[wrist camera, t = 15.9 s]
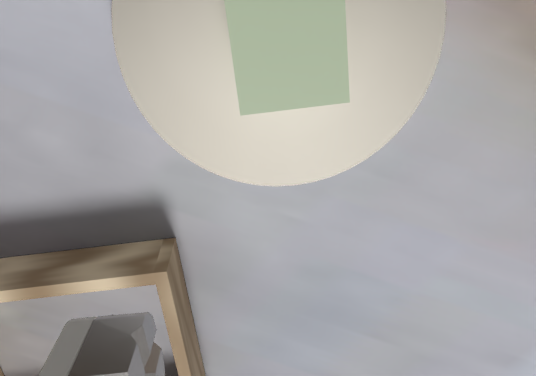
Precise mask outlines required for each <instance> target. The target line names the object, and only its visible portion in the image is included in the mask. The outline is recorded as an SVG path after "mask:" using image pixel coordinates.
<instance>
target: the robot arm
mask: <svg viewBox="0 0 536 376" xmlns="http://www.w3.org/2000/svg"><path fill="white" fill-rule="evenodd" d="M156 330H157V329H156V326H155V322H154V319H153V316H152V315H151V314H150V313H149V312H145V313H133V314H121V315H108V316H98V317H87V318H76V319H71V320H70V321H68V322H67V323H66V324H65V326H64V328H63V330H62V332H61V334H60V336H59V338H58V339H57V341H56V343H55V345H54V347H53V349H52V351H51V353H50V355H49V356H48V358H47V360H46V362H45V364H44V366H43V368H42V370H41V372H40V373H39V375H38V376H165V366H164V358H163V354H162V349H161V348H160V347H159V346H158V345H157V344H156V343H154V338H155V334H156Z"/></svg>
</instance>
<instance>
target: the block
mask: <svg viewBox="0 0 536 376" xmlns="http://www.w3.org/2000/svg"><path fill="white" fill-rule="evenodd" d="M224 2H225V10H226V17H227V24H228V31H229V38H230V45H231V52H232V59H233V67H234V74H235V81H236V88H237V95H238V102H239V109H240V116H242V115H250V114H258V113H267V112H275V111H283V110H291V109H300V108H308V107H316V106H324V105H333V104H341V103H349V102H350V94H349V73H348V52H347V30H346V9H345V0H224Z"/></svg>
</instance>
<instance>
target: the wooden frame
mask: <svg viewBox="0 0 536 376" xmlns="http://www.w3.org/2000/svg"><path fill="white" fill-rule="evenodd" d="M155 284H156V287H157V291H158V295H159V299H160V303H161V307H162V311H163V315H164V319H165V323H166V327H167V331H168V335H169V339H170V343H171V347H172V351H173V355H174V359H175V363H176V367H177V371H178V375H179V376H206V375H205V371H204V366H203V362H202V357H201V353H200V348H199V343H198V339H197V334H196V330H195V325H194V320H193V316H192V311H191V307H190V302H189V298H188V293H187V288H186V284H185V279H184V275H183V270H182V265H181V261H180V256H179V252H178V247H177V243H176V238H168V239H160V240H151V241H143V242H134V243H126V244H117V245H109V246H100V247H92V248H83V249H75V250H67V251H58V252H50V253H41V254H33V255H24V256H16V257H7V258H0V303H1V302H10V301H18V300H27V299H35V298H44V297H52V296H61V295H69V294H78V293H86V292H95V291H104V290H112V289H121V288H129V287H138V286H146V285H155ZM0 376H4V374H3V372H2V370H1V368H0Z"/></svg>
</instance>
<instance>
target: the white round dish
mask: <svg viewBox="0 0 536 376" xmlns="http://www.w3.org/2000/svg"><path fill="white" fill-rule="evenodd" d="M345 9H346V30H347V52H348V73H349V94H350V102H349V103H341V104H333V105H324V106H316V107H308V108H300V109H291V110H283V111H275V112H267V113H258V114H250V115H242V116H240V109H239V102H238V95H237V88H236V81H235V74H234V67H233V59H232V52H231V45H230V38H229V31H228V24H227V17H226V10H225V2H224V0H112V8H111V11H112V33H113V39H114V45H115V51H116V56H117V59H118V63H119V66H120V69H121V73H122V76H123V78H124V80H125V83H126V85H127V87H128V90H129V92H130V94H131V96H132V98H133V100H134V101H135V103H136V105H137V106H138V108H139V110H140V111H141V113H142V115H143V116H144V117H145V118H146V120H147V121H148V122H149V124H150V125H151V126H152V128H153V129H154V130H155V131H156V132H157V133H158V134H159V135H160V136H161V137H162V138H163V139H164V140H165V141H166V142H167V143H168V144H169V145H170V146H171V147H172V148H174V149H175V150H176V151H177V152H179V153H180V154H181V155H182V156H184V157H185V158H187V159H188V160H190V161H192V162H193V163H195V164H196V165H198V166H200V167H201V168H203V169H206V170H208V171H210V172H212V173H214V174H217V175H219V176H222V177H225V178H228V179H231V180H234V181H238V182H243V183H248V184H254V185H262V186H291V185H300V184H305V183H311V182H315V181H319V180H322V179H325V178H329V177H332V176H334V175H337V174H339V173H341V172H344V171H346V170H348V169H350V168H352V167H354V166H356V165H357V164H359V163H361V162H362V161H364V160H366V159H367V158H369V157H370V156H371V155H373V154H374V153H375V152H377V151H378V150H379V149H381V148H382V147H383V146H384V145H385V144H386V143H387V142H389V141H390V140H391V139H392V138H393V137H394V136H395V135H396V134H397V133H398V132H399V131H400V129H401V128H402V127H403V126H404V125H405V123H406V122H407V121H408V120H409V118H410V117H411V116H412V114H413V113H414V111H415V110H416V108H417V107H418V105H419V104H420V102H421V100H422V99H423V97H424V95H425V93H426V91H427V89H428V87H429V85H430V83H431V81H432V78H433V75H434V72H435V70H436V67H437V64H438V61H439V58H440V53H441V49H442V44H443V39H444V32H445V22H446V0H345Z"/></svg>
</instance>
